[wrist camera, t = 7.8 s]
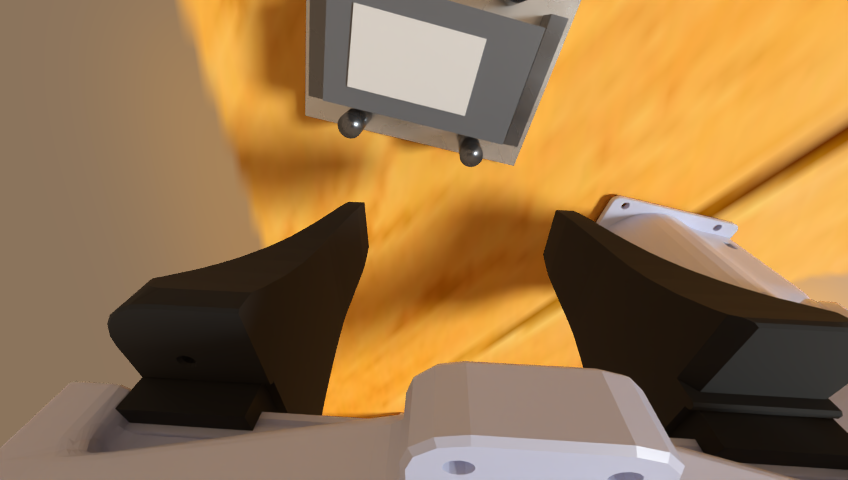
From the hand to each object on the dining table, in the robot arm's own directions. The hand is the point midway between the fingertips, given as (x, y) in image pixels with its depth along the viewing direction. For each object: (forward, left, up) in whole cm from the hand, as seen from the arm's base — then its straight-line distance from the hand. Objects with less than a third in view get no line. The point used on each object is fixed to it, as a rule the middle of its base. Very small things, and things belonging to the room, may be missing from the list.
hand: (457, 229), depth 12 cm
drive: (+3, -5, -9) cm, 10 cm away
